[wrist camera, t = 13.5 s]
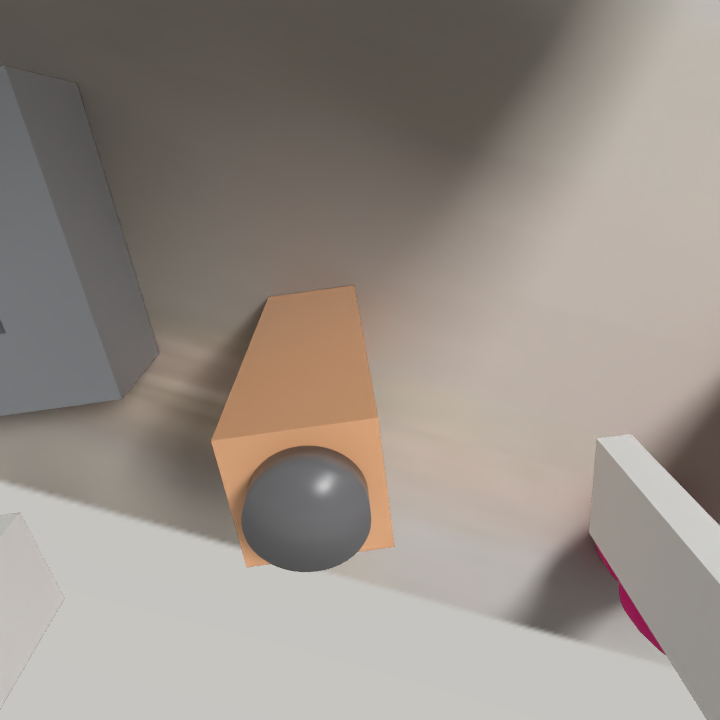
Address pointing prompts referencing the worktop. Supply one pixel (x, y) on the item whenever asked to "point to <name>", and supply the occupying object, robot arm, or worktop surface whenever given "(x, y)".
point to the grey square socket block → (61, 258)
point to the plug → (305, 438)
